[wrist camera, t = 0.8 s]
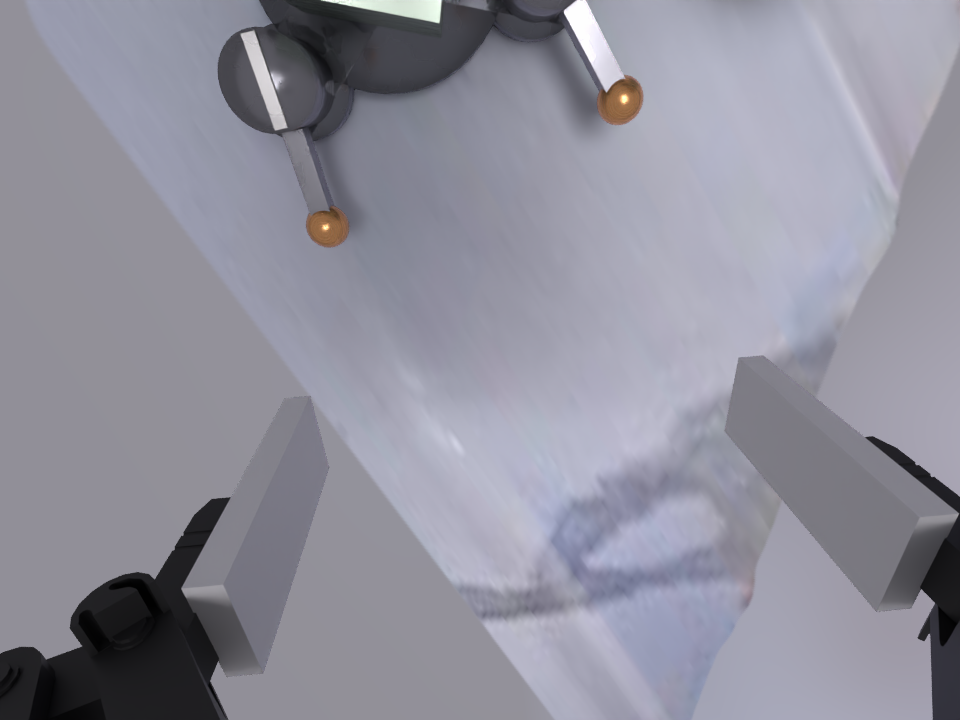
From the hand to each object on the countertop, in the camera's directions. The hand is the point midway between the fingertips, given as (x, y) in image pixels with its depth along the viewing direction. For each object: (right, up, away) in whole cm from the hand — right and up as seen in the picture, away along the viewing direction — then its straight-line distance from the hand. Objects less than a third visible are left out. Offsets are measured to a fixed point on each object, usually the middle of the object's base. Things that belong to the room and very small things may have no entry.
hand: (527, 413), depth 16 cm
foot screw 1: (-12, +15, +16) cm, 26 cm away
